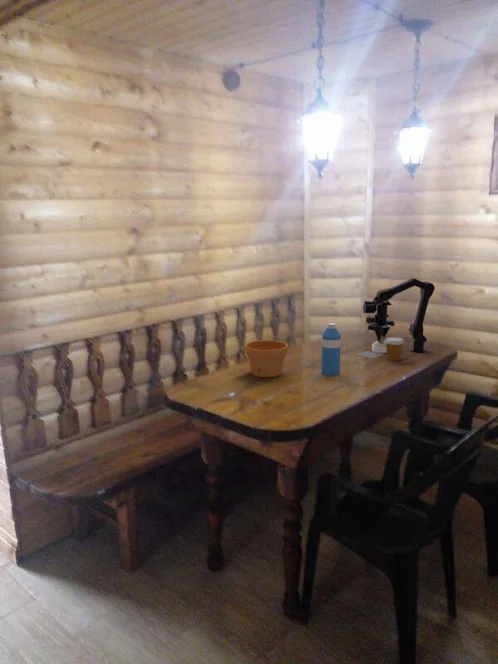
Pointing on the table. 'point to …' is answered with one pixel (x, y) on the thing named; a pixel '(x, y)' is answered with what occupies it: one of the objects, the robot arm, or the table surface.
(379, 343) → the lid
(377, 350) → the bowl
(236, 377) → the table surface
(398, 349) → the disposable coffee cup
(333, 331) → the water bottle
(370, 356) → the coaster
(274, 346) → the flower pot
